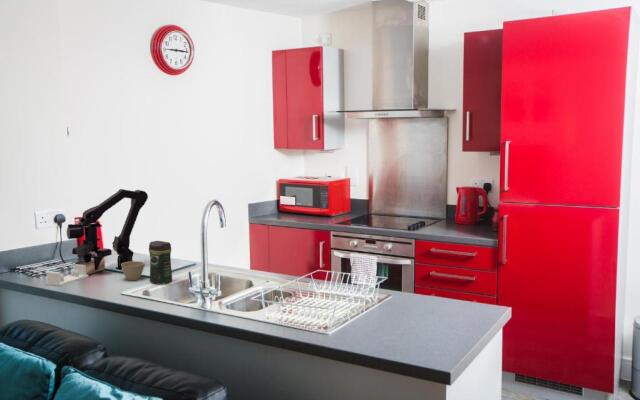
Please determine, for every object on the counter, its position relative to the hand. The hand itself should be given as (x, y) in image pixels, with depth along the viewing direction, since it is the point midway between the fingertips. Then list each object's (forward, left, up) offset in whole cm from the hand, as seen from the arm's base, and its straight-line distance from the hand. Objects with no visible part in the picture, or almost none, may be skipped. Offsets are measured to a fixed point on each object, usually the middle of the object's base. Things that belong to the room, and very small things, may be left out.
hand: (92, 269), depth 286 cm
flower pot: (-25, +3, -2) cm, 26 cm away
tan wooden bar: (0, 0, -1) cm, 1 cm away
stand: (0, +16, -2) cm, 16 cm away
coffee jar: (-40, +3, -2) cm, 41 cm away
